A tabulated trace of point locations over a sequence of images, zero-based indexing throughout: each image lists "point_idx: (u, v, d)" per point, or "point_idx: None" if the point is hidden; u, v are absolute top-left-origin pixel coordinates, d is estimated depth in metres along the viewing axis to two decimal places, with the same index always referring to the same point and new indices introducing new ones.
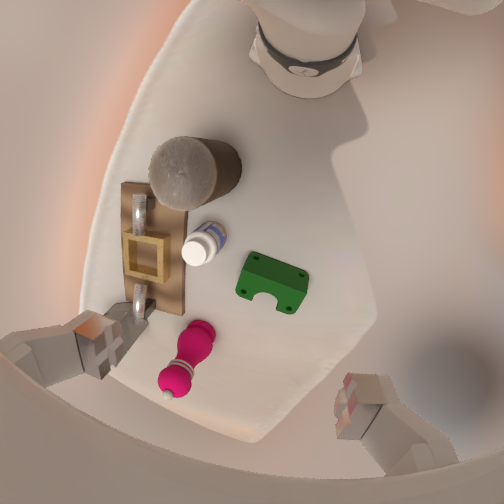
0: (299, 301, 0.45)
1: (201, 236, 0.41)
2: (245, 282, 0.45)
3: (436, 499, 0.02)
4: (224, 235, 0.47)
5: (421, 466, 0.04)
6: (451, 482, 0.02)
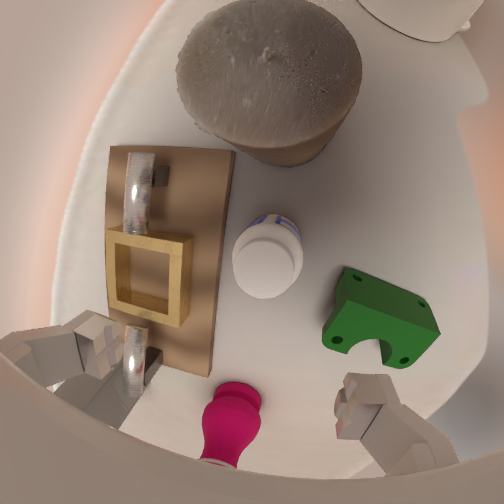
0: (425, 347, 0.22)
1: (276, 232, 0.19)
2: (346, 323, 0.22)
3: (436, 499, 0.02)
4: None
5: (421, 466, 0.04)
6: (451, 482, 0.02)
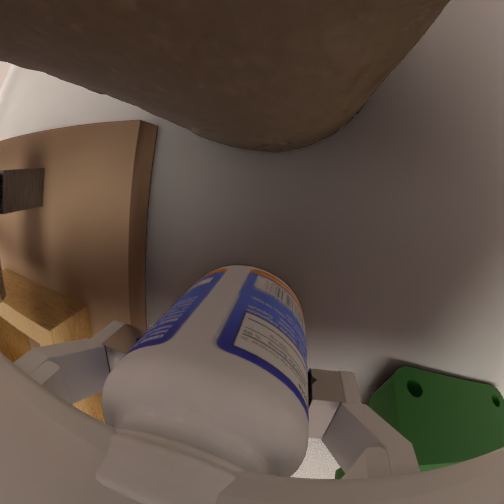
0: None
1: (210, 405, 0.04)
2: None
3: (436, 499, 0.02)
4: (304, 326, 0.10)
5: (373, 472, 0.04)
6: (451, 482, 0.02)
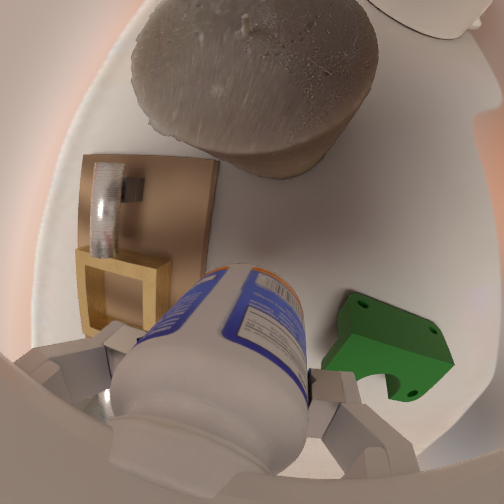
0: (436, 379, 0.18)
1: (216, 389, 0.05)
2: (349, 359, 0.18)
3: (436, 499, 0.02)
4: None
5: (373, 472, 0.04)
6: (451, 482, 0.02)
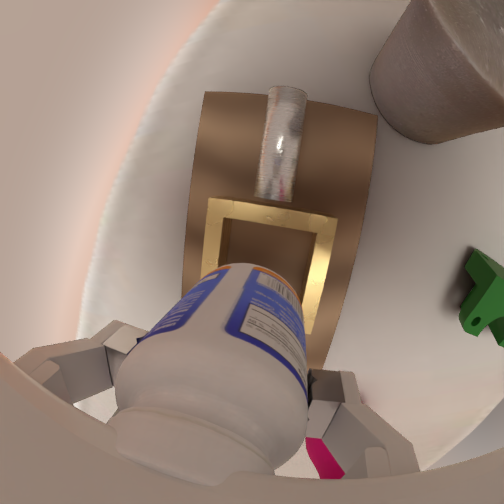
0: None
1: (220, 382, 0.05)
2: (488, 302, 0.16)
3: (436, 499, 0.02)
4: None
5: (373, 472, 0.04)
6: (451, 482, 0.02)
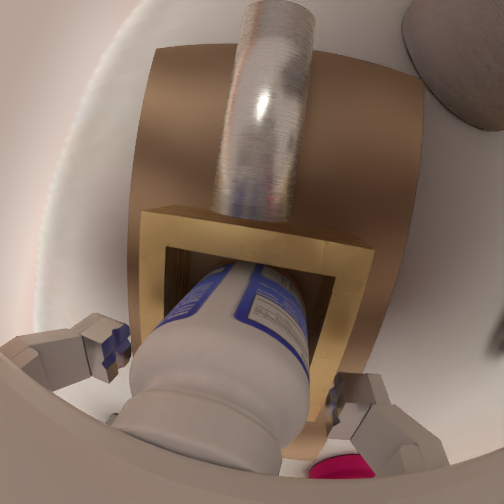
0: None
1: (231, 363, 0.06)
2: None
3: (436, 499, 0.02)
4: (305, 312, 0.12)
5: (409, 468, 0.04)
6: (451, 482, 0.02)
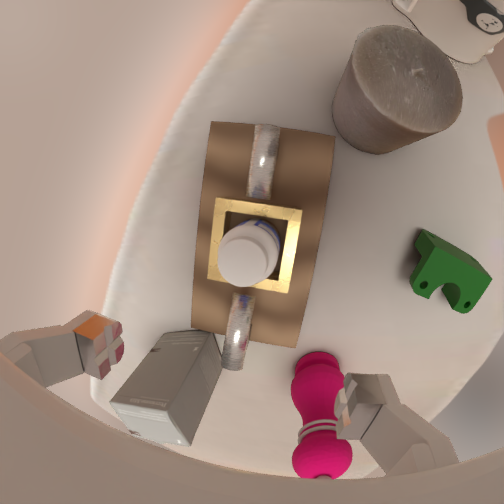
0: (481, 291, 0.24)
1: (254, 232, 0.23)
2: (432, 268, 0.25)
3: (436, 499, 0.02)
4: None
5: (421, 466, 0.04)
6: (451, 482, 0.02)
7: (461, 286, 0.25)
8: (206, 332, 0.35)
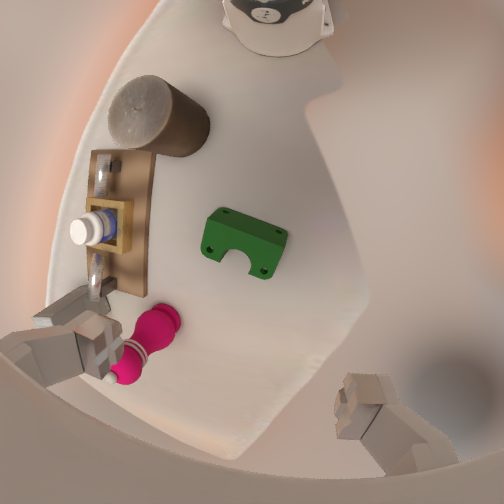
0: (276, 259, 0.37)
1: (88, 216, 0.36)
2: (211, 236, 0.38)
3: (436, 499, 0.02)
4: None
5: (421, 466, 0.04)
6: (451, 482, 0.02)
7: (248, 253, 0.38)
8: None
